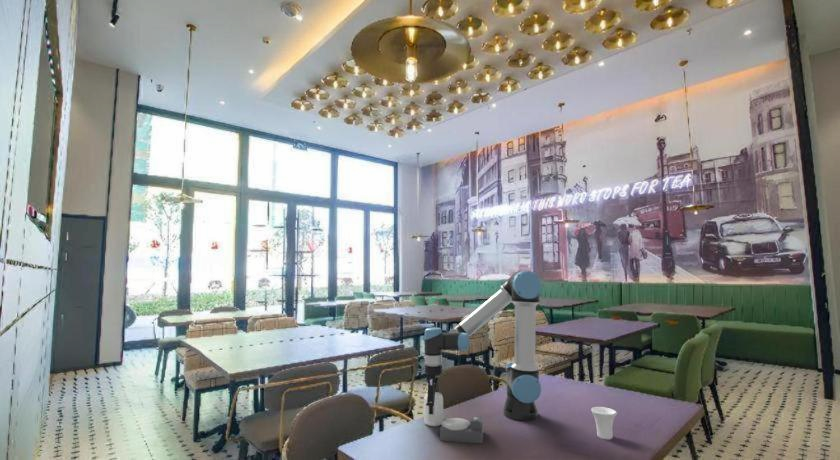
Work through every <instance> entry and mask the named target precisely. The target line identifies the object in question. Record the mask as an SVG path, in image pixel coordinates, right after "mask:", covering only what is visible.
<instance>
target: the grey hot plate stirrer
mask: <svg viewBox="0 0 840 460" xmlns="http://www.w3.org/2000/svg"><path fill="white" fill-rule="evenodd" d="M482 419H483V418H482V415H479V414H471V416H470V420H467V419H466V418H465V419H464V418H461V417H450V418H443V421H442V424H441V425H440V429H439V432H440V434H439V436H440V437H439V438H440V441H446V442H458V443H470V444H471V443H472V444H483V443H484V421H483V420H482Z"/></svg>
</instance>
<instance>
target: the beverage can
mask: <svg viewBox="0 0 840 460" xmlns="http://www.w3.org/2000/svg"><path fill="white" fill-rule="evenodd" d="M427 398H428V392H426V393H425V395H424V397H423V399H424V401H423V404H424V406H423V407H424V410H423V411H424V413H423V414H424V415H423V416H424V417H423V418H424V424H425V425H426V426H429V427H440V426H442V421H443V420H444V396H443V394H442V393H441V392H435V400H434V405H435V422H428V406H426V404H427ZM431 403H432V402H431Z"/></svg>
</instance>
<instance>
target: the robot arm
mask: <svg viewBox="0 0 840 460" xmlns="http://www.w3.org/2000/svg"><path fill="white" fill-rule="evenodd" d="M499 287H500V289H499V290H497V291H496V292H495V293H494V294H493V295H492V296H490V297H489V298H488V299H487V300H486V301H484V302H483V303H482V304H481V305H479V306H478V307H477V308H476V309H475V310H474V311H473V312H471V313H470V314H469V315H468V316H466V317H465V318H464V319H463V320H461V321H460V322H459V323H458V324H457V325H456V326H454V327H452V328H451V329H450V330H449V331H448V332H443V329H442V328H441V327H427V328H425V329H424V356H423V359H424V374H425V375H428V376H429V378H428V379H427V393H428V398H427V404H426V406H428V422H435V405H434V400H435V392H439V393H441V392H440V391H441V389H440V380H439V376H440V375H442V374H443V365H442V364H443V351H458V352H465V351H466V352H467V351H469V349H470V337H471V336H472V335H473V334H474V333H476V331H478V330H479V329H480V328H481V327H483V326H484V325H485V324H486V323H488V322H489V321H490V320H491V319H493V318H494V317H495V316H496V315H497V314H499V313H500V312H501V311H502V310H503V309H505V307H507V306H508V305H509V304H510V303H513V305H514V355H513V356H514V361H507V362H506V364H505V377H506V379H505V381H506V383H505V384H506V398H505V401H504V404H503V408H502V410H503V413H502V414H503V416H505V417H507V418H508V419H512V420H518V421H532V420H536V419H538V417H539V411H538V407H537V405H536V402H535V401H537V399H539V397H540V396H541V394H542V393H541V392H542V385H541V382H540V368H539V366H538V365H537V364H536V320H537V318H536V316H537V315H536V312H537V311H536V308H537V306H538V305H539V304H540V293H541V291H542V287H543V284H542V279H541V278H540V277H539V275H537V273H535V272H534V271H531V270H517V271H516V272H514V273H512V275H510V276H509V278H508V279H507V280H506V281H504V283H503V284H501V285H500V286H499ZM431 402H432V403H431Z"/></svg>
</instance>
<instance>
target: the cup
mask: <svg viewBox="0 0 840 460" xmlns="http://www.w3.org/2000/svg"><path fill="white" fill-rule="evenodd" d="M591 413H592V415H593V417H594V421H595V425H596V435H597V438H600V439H603V440H612V439H613V437H614V435H613V424H614V420H615V417H617V415H618V412H617V411H616V410H614V409H612V408H609V407H605V406H593V407H591Z"/></svg>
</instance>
